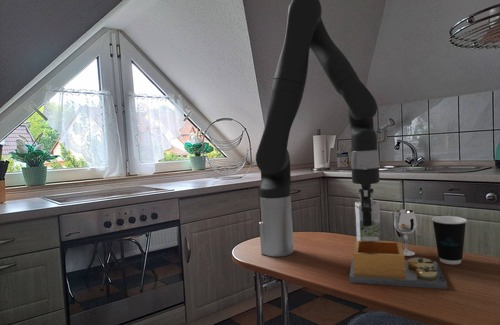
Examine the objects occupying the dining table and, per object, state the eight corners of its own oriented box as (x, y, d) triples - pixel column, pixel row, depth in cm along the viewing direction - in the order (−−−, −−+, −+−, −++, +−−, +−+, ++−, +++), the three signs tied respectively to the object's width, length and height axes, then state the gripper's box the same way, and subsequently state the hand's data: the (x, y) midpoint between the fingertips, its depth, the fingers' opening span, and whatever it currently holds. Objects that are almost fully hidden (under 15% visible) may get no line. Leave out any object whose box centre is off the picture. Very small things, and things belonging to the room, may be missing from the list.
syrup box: (376, 248, 105) (374, 200, 105) (381, 254, 100) (379, 203, 99) (356, 249, 106) (354, 201, 105) (360, 255, 100) (358, 204, 99)
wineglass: (416, 257, 96) (414, 213, 95) (393, 255, 99) (391, 212, 98) (418, 251, 100) (417, 209, 100) (397, 249, 103) (395, 208, 103)
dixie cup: (444, 267, 87) (442, 223, 87) (426, 257, 95) (425, 216, 95) (475, 265, 88) (474, 221, 87) (455, 255, 96) (454, 214, 95)
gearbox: (349, 282, 82) (348, 254, 82) (352, 263, 94) (351, 239, 94) (447, 289, 75) (446, 259, 75) (436, 267, 88) (435, 241, 87)
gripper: (352, 165, 109) (355, 216, 110) (350, 169, 96) (352, 228, 97) (378, 164, 107) (380, 217, 108) (379, 168, 93) (382, 228, 94)
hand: (367, 222), depth 102 cm, fingers open, 8 cm apart
